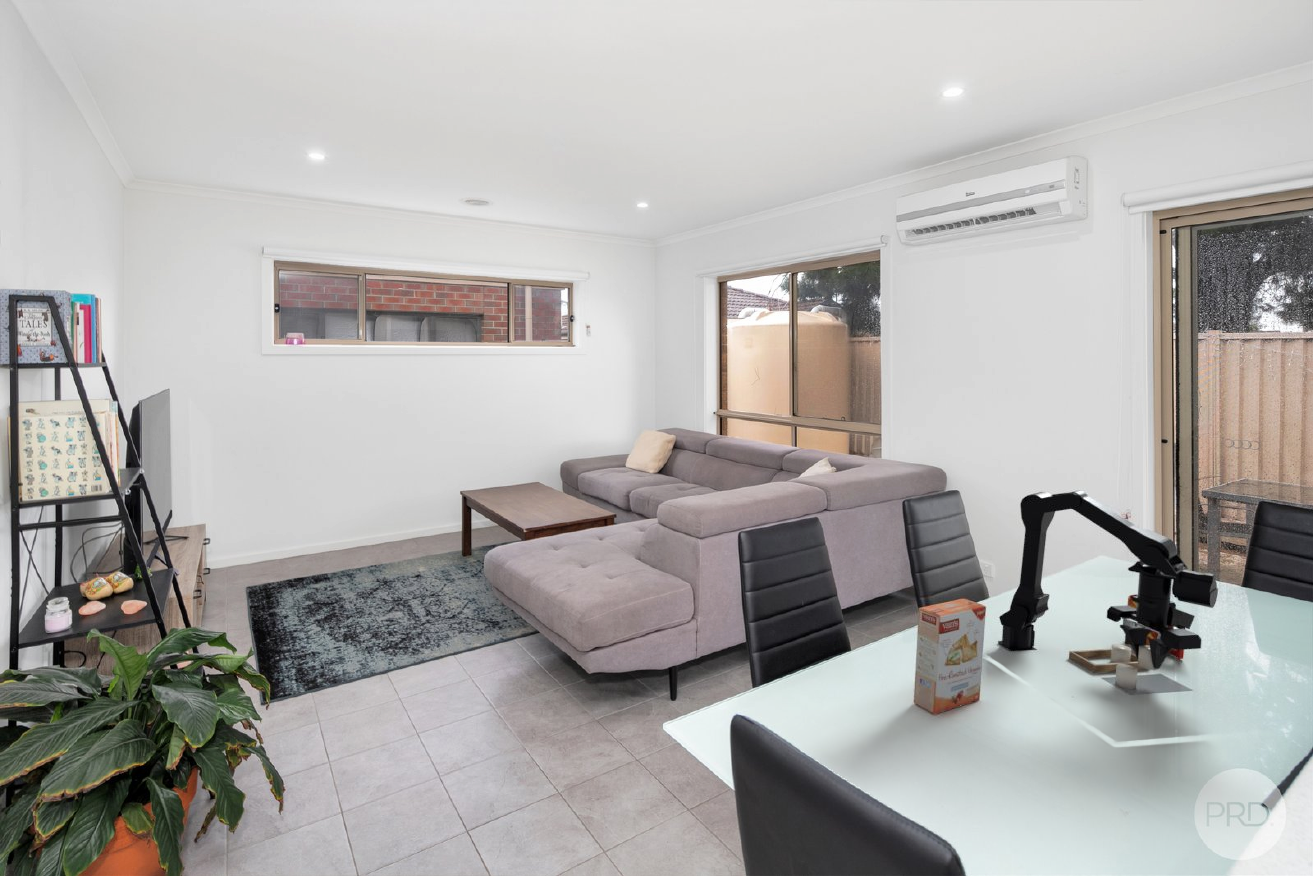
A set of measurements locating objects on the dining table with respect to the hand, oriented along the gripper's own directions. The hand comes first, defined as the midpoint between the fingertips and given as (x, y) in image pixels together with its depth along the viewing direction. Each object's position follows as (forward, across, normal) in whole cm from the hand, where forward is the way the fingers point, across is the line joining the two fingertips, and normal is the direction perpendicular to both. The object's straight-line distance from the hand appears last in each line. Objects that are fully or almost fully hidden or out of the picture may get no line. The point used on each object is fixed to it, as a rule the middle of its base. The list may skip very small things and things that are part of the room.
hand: (1148, 664), depth 149 cm
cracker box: (+6, 0, +47) cm, 47 cm away
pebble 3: (0, 0, 0) cm, 0 cm away
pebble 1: (+5, +11, -3) cm, 12 cm away
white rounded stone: (+5, 0, +5) cm, 7 cm away
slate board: (+5, 0, 0) cm, 5 cm away
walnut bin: (+5, +11, 0) cm, 12 cm away
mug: (+6, +18, -20) cm, 27 cm away
